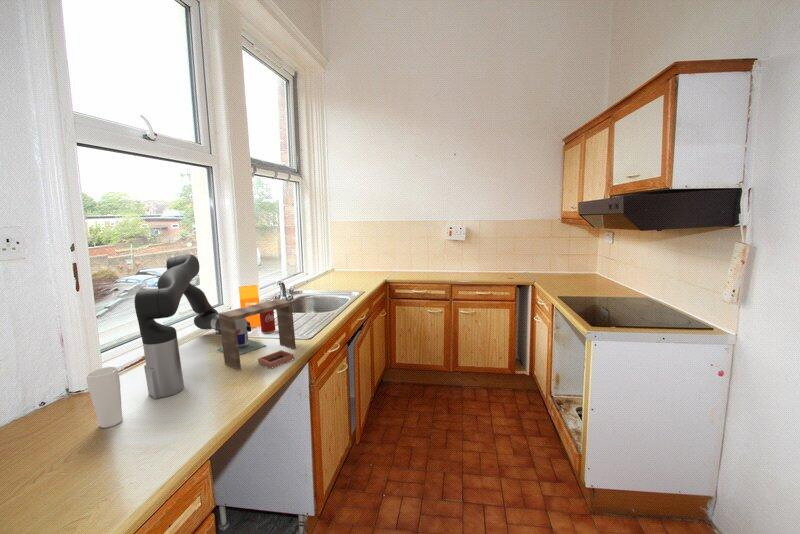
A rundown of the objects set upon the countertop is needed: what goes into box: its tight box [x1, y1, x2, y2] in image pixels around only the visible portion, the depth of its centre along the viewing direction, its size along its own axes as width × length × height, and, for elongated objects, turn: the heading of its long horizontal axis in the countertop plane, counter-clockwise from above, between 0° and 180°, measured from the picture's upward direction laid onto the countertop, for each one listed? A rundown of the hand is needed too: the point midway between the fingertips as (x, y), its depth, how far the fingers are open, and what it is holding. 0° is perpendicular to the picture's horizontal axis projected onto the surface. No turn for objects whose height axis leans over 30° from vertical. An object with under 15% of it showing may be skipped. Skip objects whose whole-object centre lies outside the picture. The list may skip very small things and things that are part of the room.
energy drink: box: [235, 317, 249, 347], centre depth 159 cm, size 5×5×12 cm
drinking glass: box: [86, 366, 124, 429], centre depth 105 cm, size 7×7×15 cm
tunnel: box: [218, 298, 297, 371], centre depth 149 cm, size 25×9×20 cm, turn 140°
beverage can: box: [259, 310, 276, 335], centre depth 179 cm, size 6×6×12 cm
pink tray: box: [257, 349, 295, 369], centre depth 144 cm, size 10×8×2 cm
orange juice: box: [238, 284, 261, 328], centre depth 191 cm, size 8×9×20 cm
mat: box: [216, 338, 267, 356], centre depth 160 cm, size 14×14×1 cm
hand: (243, 330), depth 157 cm, fingers closed on energy drink, 5 cm apart
